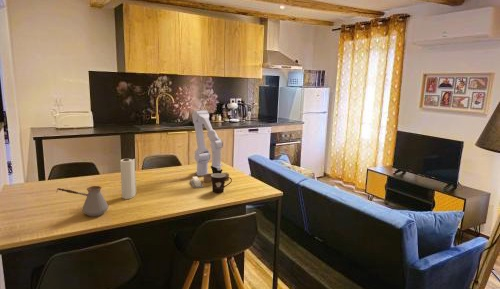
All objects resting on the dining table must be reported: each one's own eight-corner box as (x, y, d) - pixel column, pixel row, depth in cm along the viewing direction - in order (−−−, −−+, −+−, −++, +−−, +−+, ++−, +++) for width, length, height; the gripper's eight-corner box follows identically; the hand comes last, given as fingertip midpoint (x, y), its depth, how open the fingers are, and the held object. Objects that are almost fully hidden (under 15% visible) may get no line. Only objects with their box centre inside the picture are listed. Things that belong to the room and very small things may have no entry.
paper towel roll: (121, 199, 177) (119, 161, 172) (122, 195, 182) (120, 158, 178) (135, 198, 179) (134, 160, 174) (136, 194, 184) (134, 158, 180)
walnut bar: (203, 180, 215) (203, 173, 214) (227, 178, 220) (227, 172, 219) (204, 182, 211) (204, 175, 210) (228, 180, 216) (228, 174, 215)
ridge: (189, 181, 211) (189, 176, 211) (199, 180, 214) (199, 175, 213) (193, 188, 199) (193, 183, 198) (203, 187, 201) (203, 182, 200)
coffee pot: (106, 207, 166) (105, 178, 163) (110, 215, 157) (108, 185, 154) (58, 214, 156) (55, 184, 153) (58, 224, 146) (55, 192, 143)
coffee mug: (208, 192, 192) (208, 176, 190) (214, 188, 200) (214, 172, 198) (226, 195, 189) (227, 178, 187) (232, 190, 197) (232, 174, 195)
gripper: (225, 160, 207) (225, 181, 210) (219, 155, 220) (219, 174, 223) (214, 161, 205) (214, 181, 207) (209, 155, 218) (209, 175, 221)
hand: (216, 178), depth 215 cm, fingers open, 6 cm apart
